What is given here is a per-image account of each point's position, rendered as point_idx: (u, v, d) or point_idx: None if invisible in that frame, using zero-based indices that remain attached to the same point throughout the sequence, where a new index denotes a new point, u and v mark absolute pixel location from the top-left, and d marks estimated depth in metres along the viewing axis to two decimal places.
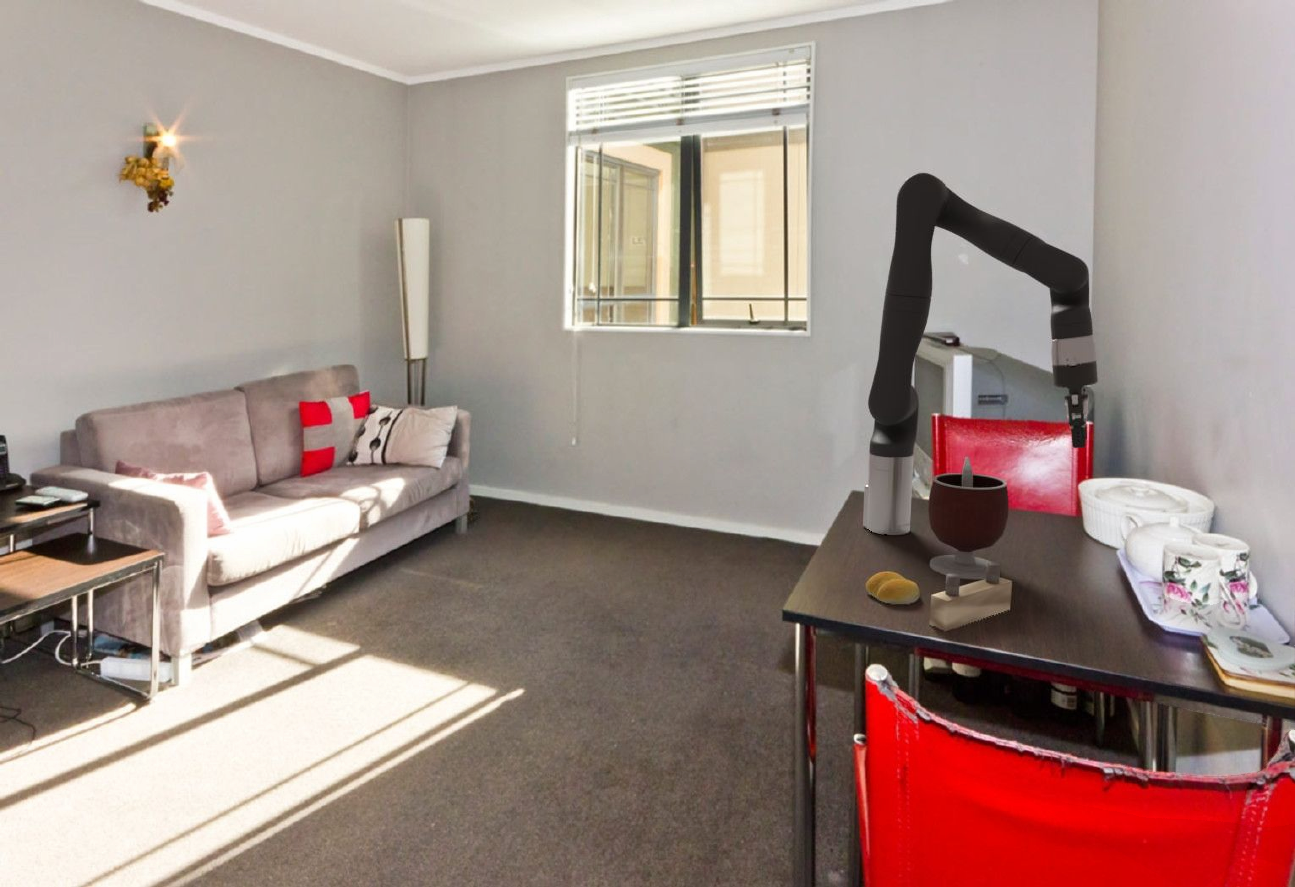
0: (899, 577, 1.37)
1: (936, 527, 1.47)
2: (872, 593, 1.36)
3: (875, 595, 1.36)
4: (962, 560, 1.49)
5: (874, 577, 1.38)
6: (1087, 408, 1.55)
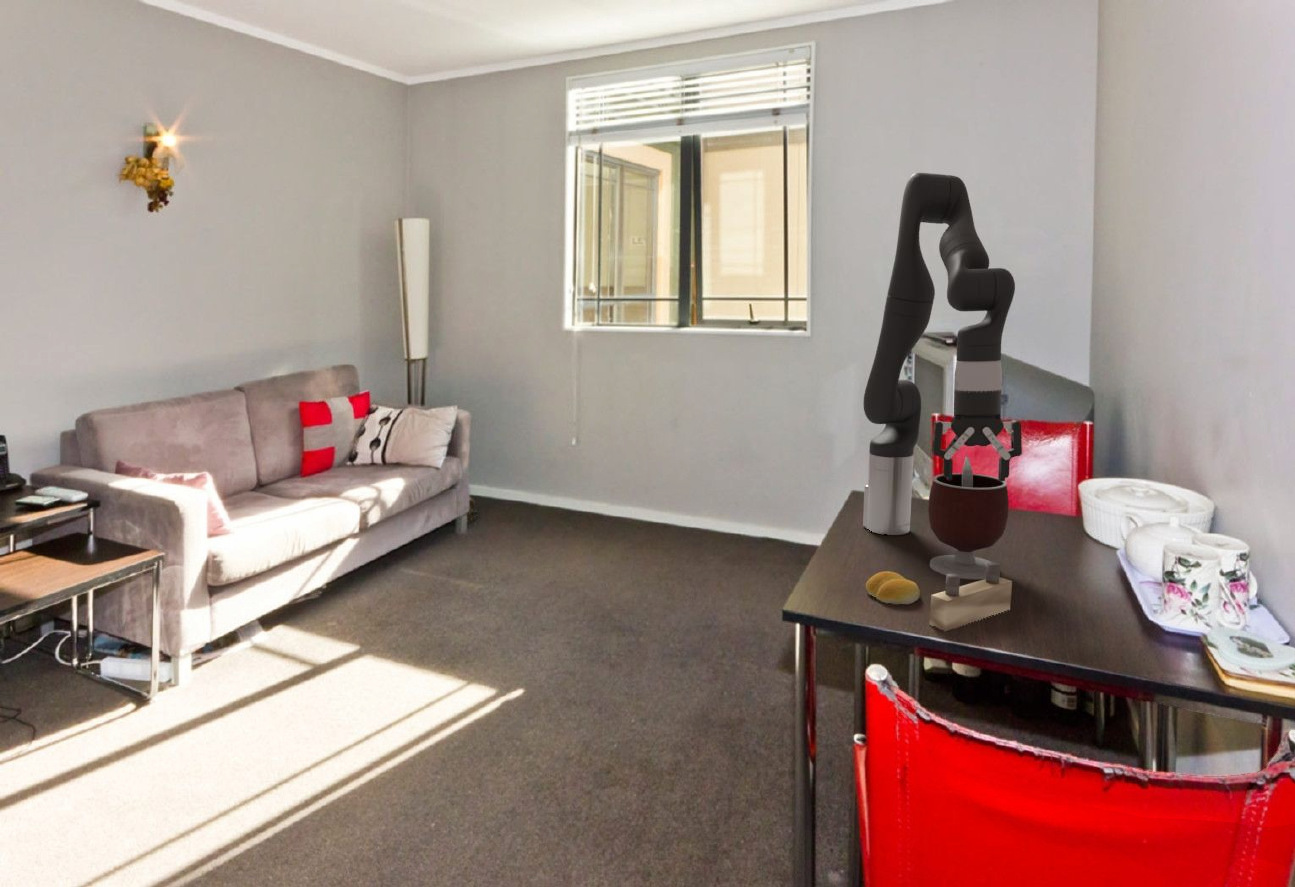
0: (899, 577, 1.38)
1: (936, 527, 1.47)
2: (872, 593, 1.36)
3: (875, 595, 1.36)
4: (962, 560, 1.49)
5: (874, 577, 1.38)
6: (992, 444, 1.35)
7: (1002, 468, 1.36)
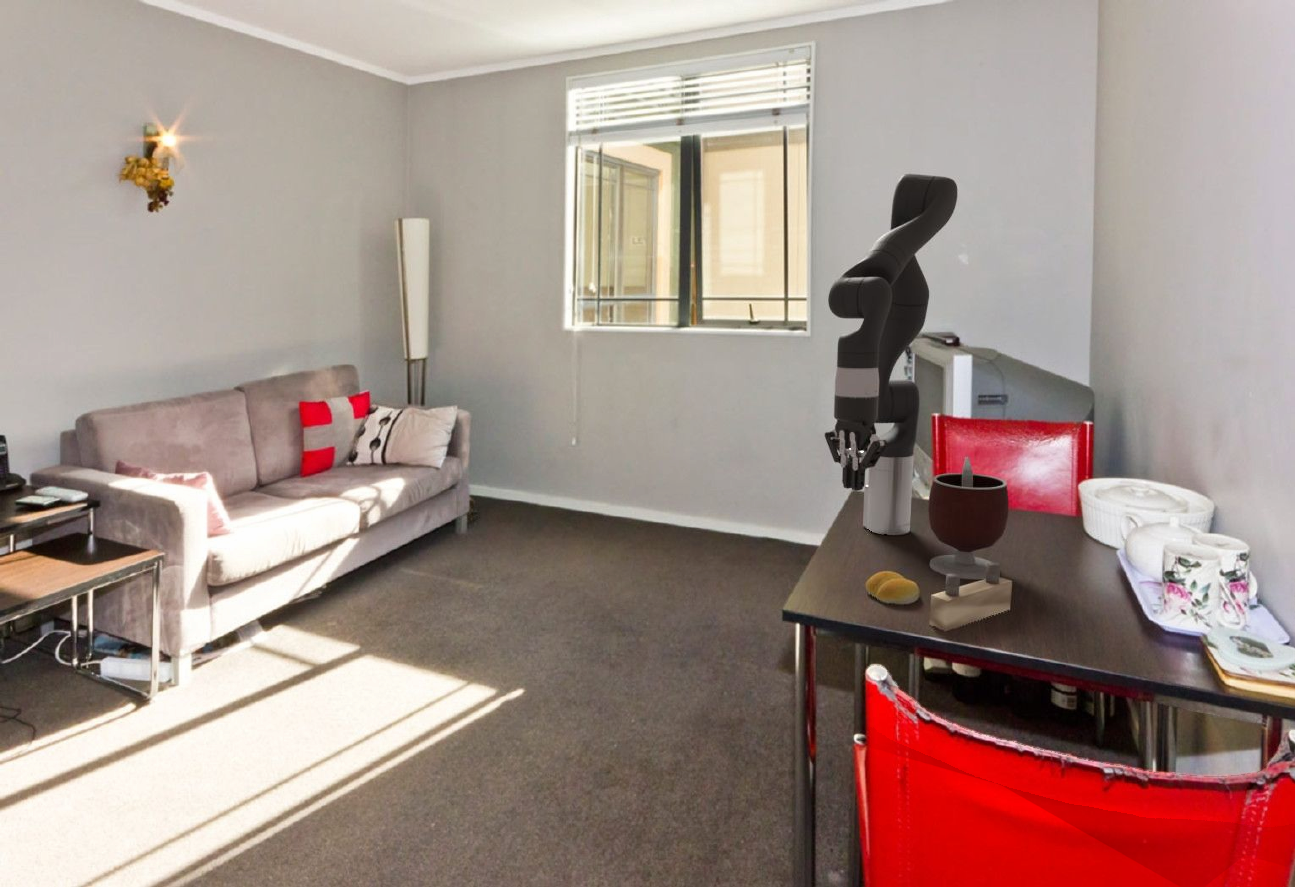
0: (899, 577, 1.38)
1: (936, 527, 1.47)
2: (872, 593, 1.36)
3: (875, 595, 1.36)
4: (962, 560, 1.49)
5: (874, 577, 1.38)
6: (850, 449, 1.40)
7: (852, 478, 1.41)
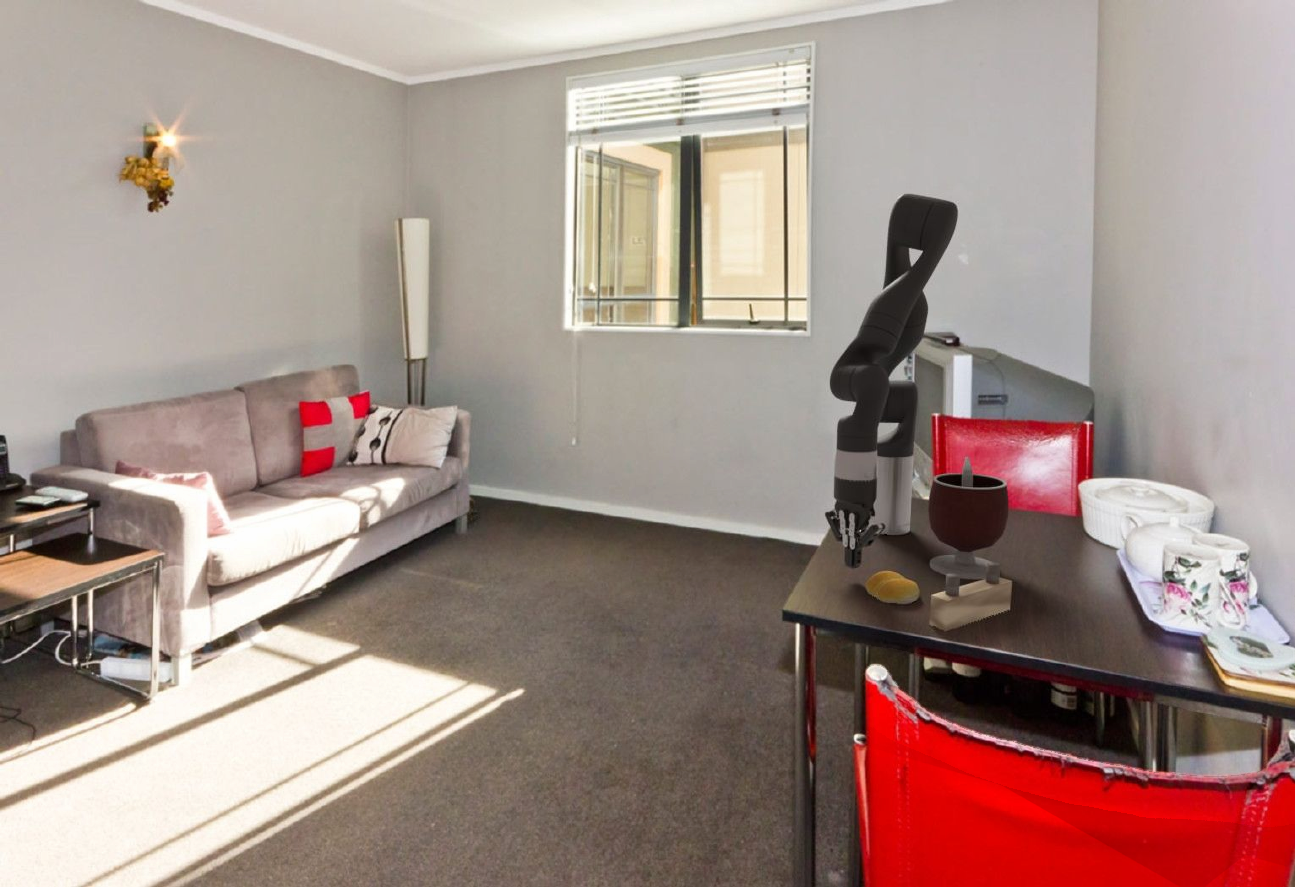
0: (899, 577, 1.38)
1: (936, 527, 1.47)
2: (872, 593, 1.36)
3: (875, 595, 1.36)
4: (962, 560, 1.49)
5: (874, 577, 1.38)
6: (849, 528, 1.42)
7: (849, 556, 1.44)
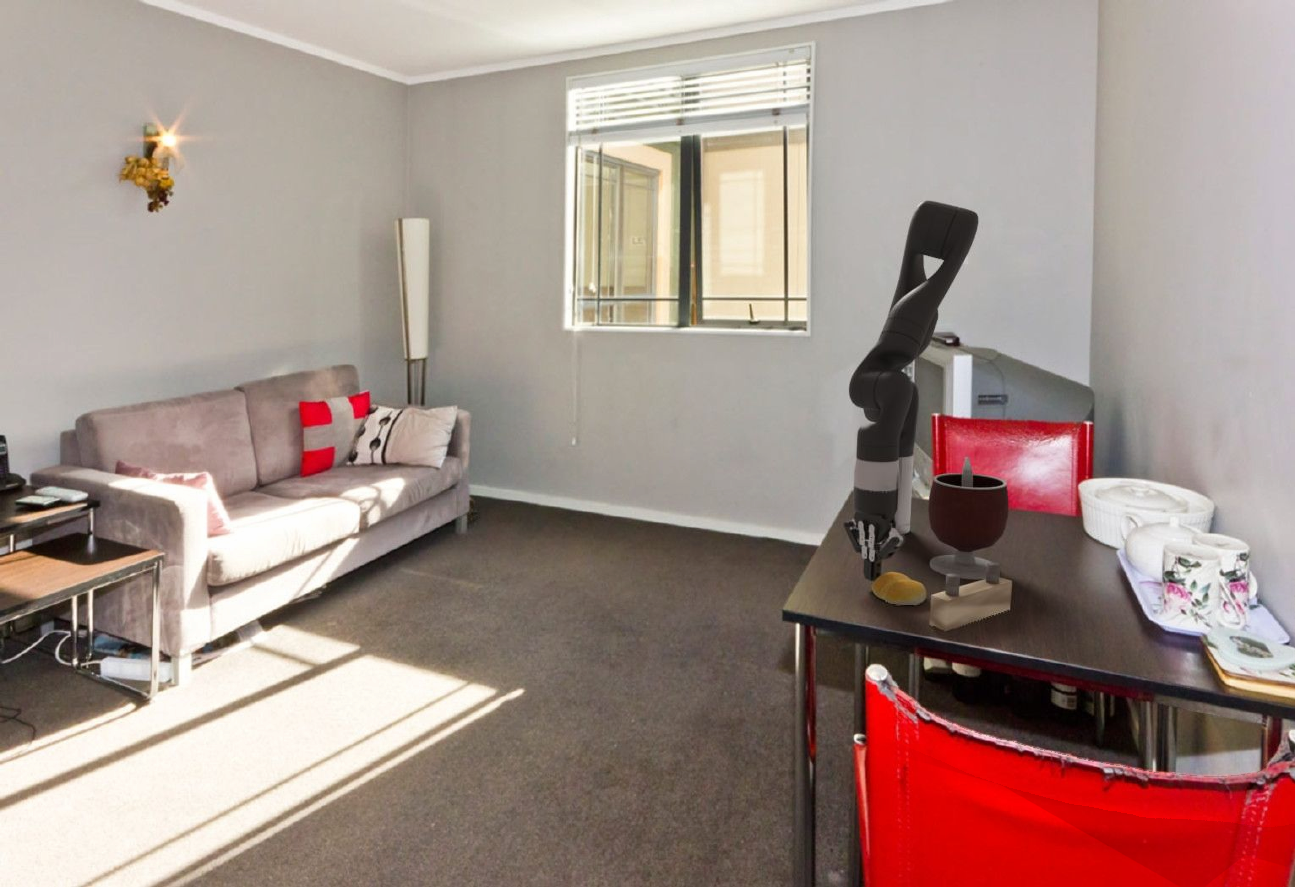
0: (905, 578, 1.37)
1: (936, 527, 1.47)
2: (879, 594, 1.35)
3: (882, 596, 1.35)
4: (962, 560, 1.49)
5: (880, 578, 1.37)
6: (868, 540, 1.38)
7: (868, 568, 1.39)
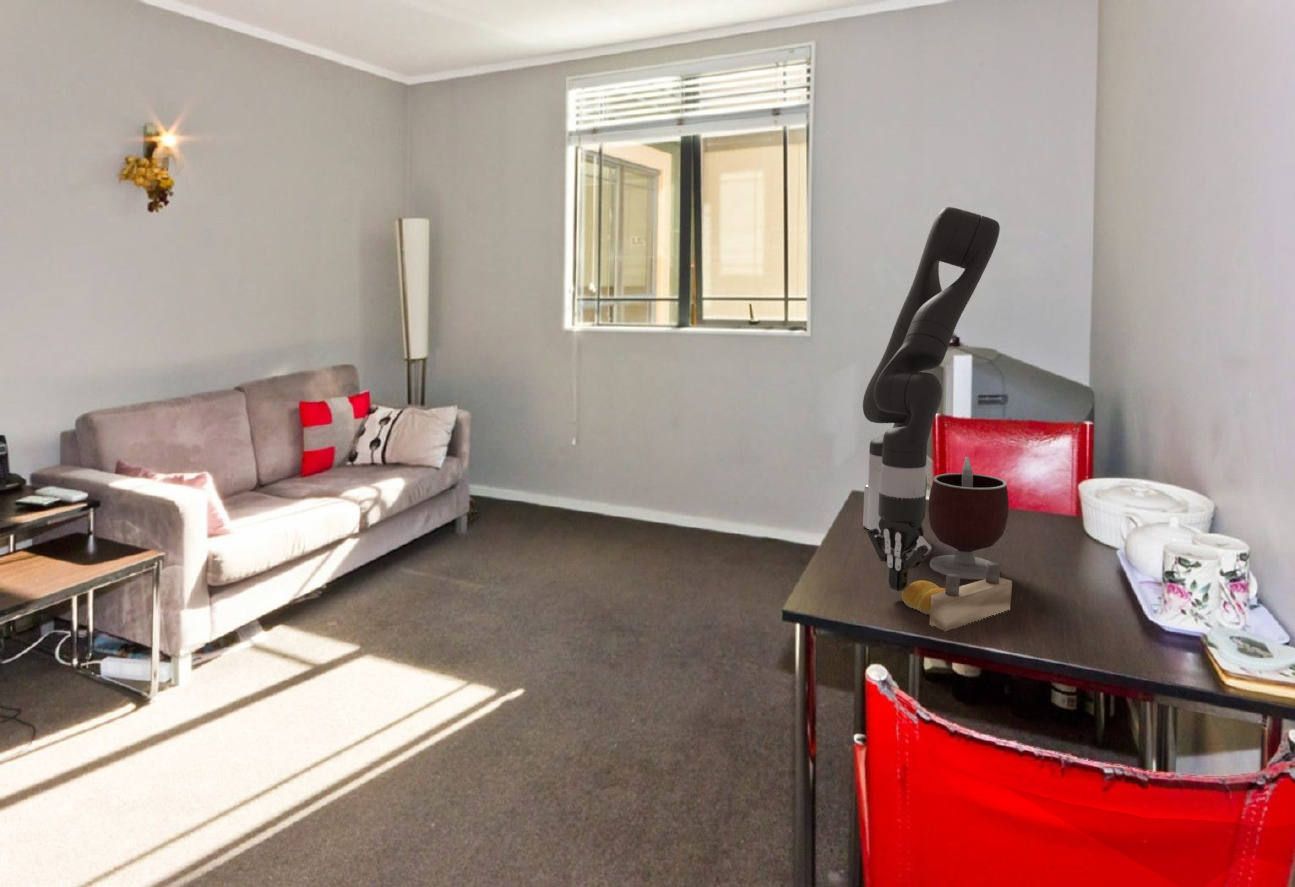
0: (935, 586, 1.33)
1: (936, 527, 1.47)
2: (912, 605, 1.30)
3: (916, 607, 1.30)
4: (962, 560, 1.49)
5: (911, 588, 1.32)
6: (895, 548, 1.33)
7: (894, 578, 1.34)
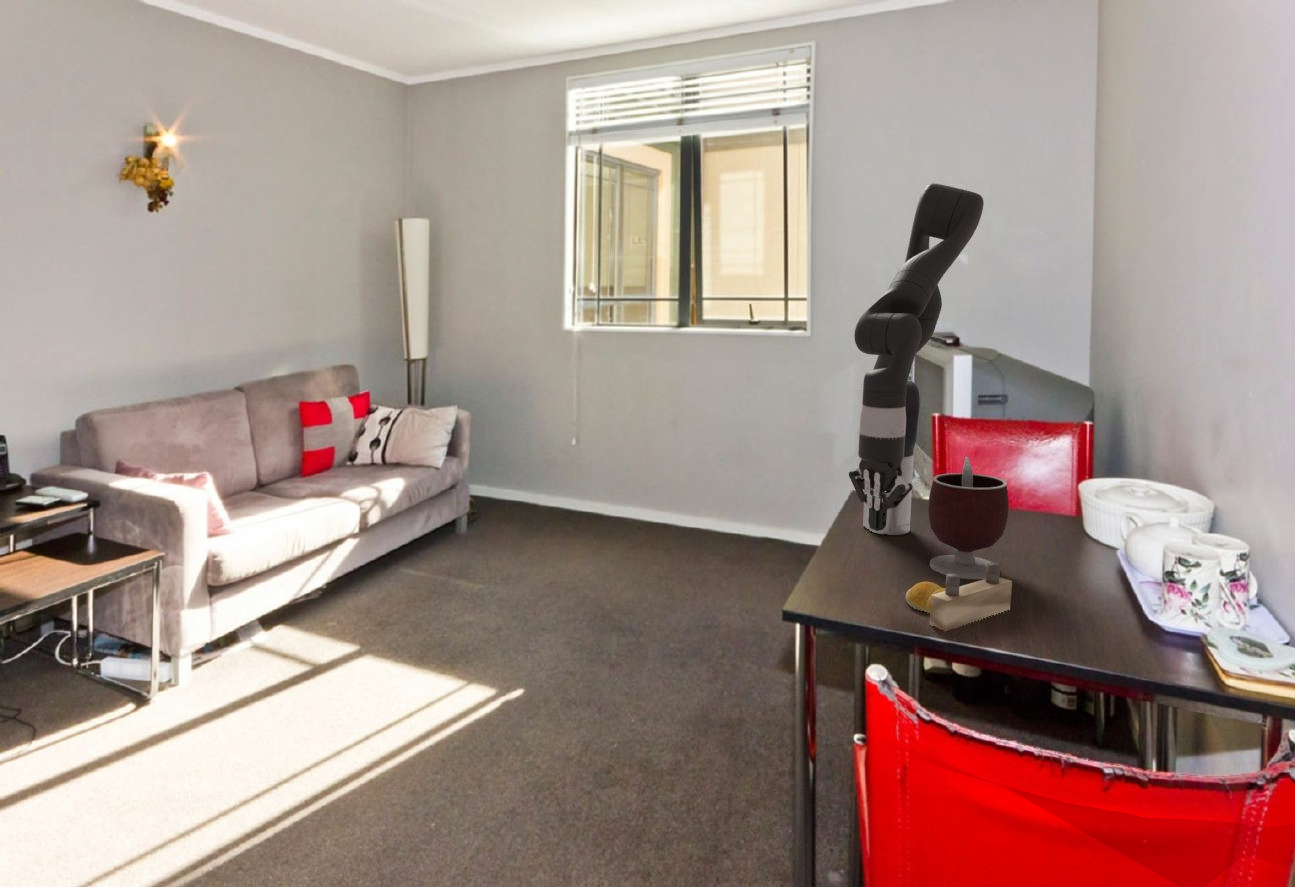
0: (938, 586, 1.33)
1: (936, 527, 1.47)
2: (919, 607, 1.30)
3: (923, 608, 1.30)
4: (962, 560, 1.49)
5: (916, 589, 1.32)
6: (874, 489, 1.35)
7: (874, 518, 1.37)
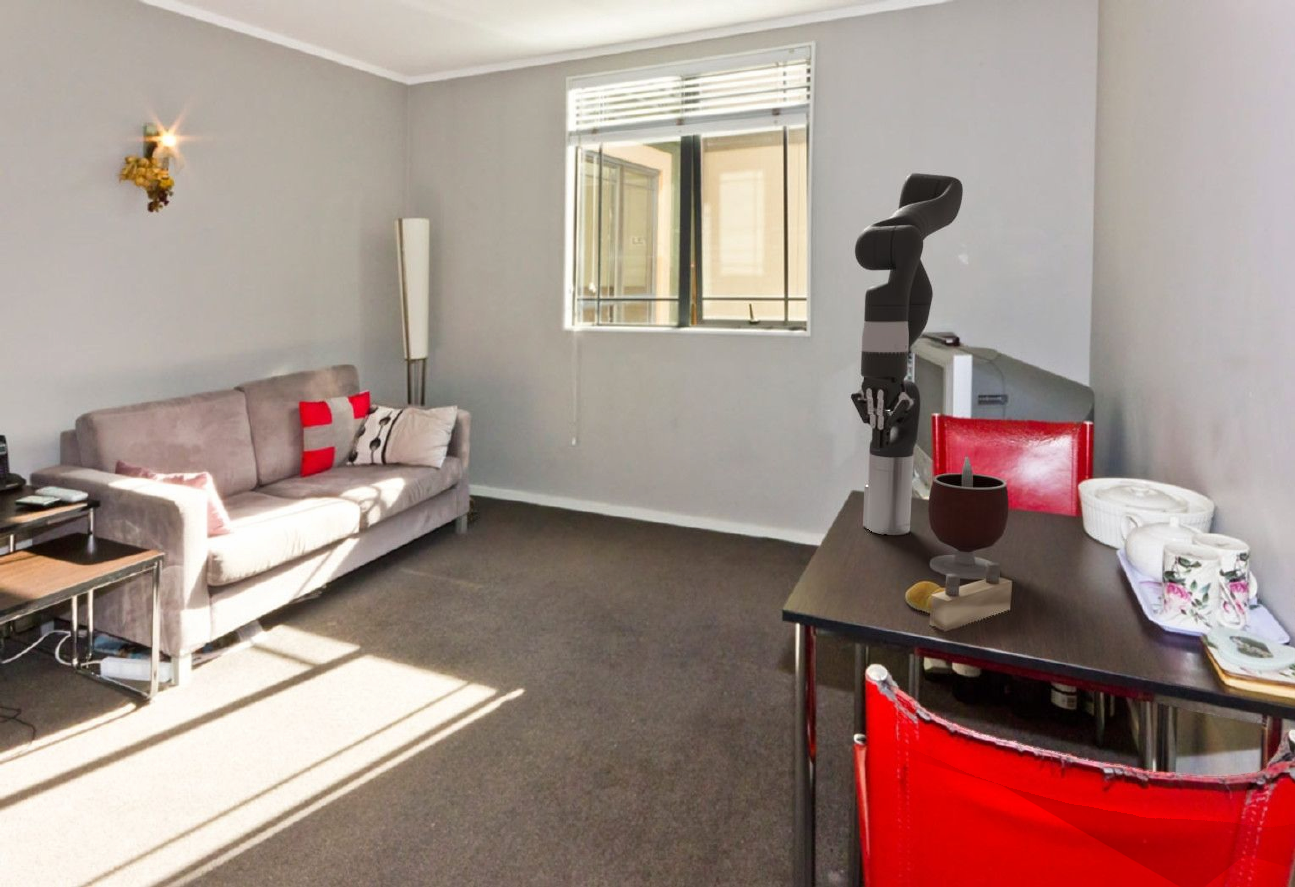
0: (938, 586, 1.33)
1: (936, 527, 1.47)
2: (919, 606, 1.30)
3: (923, 608, 1.30)
4: (962, 560, 1.49)
5: (916, 589, 1.32)
6: (877, 407, 1.34)
7: (877, 438, 1.35)
